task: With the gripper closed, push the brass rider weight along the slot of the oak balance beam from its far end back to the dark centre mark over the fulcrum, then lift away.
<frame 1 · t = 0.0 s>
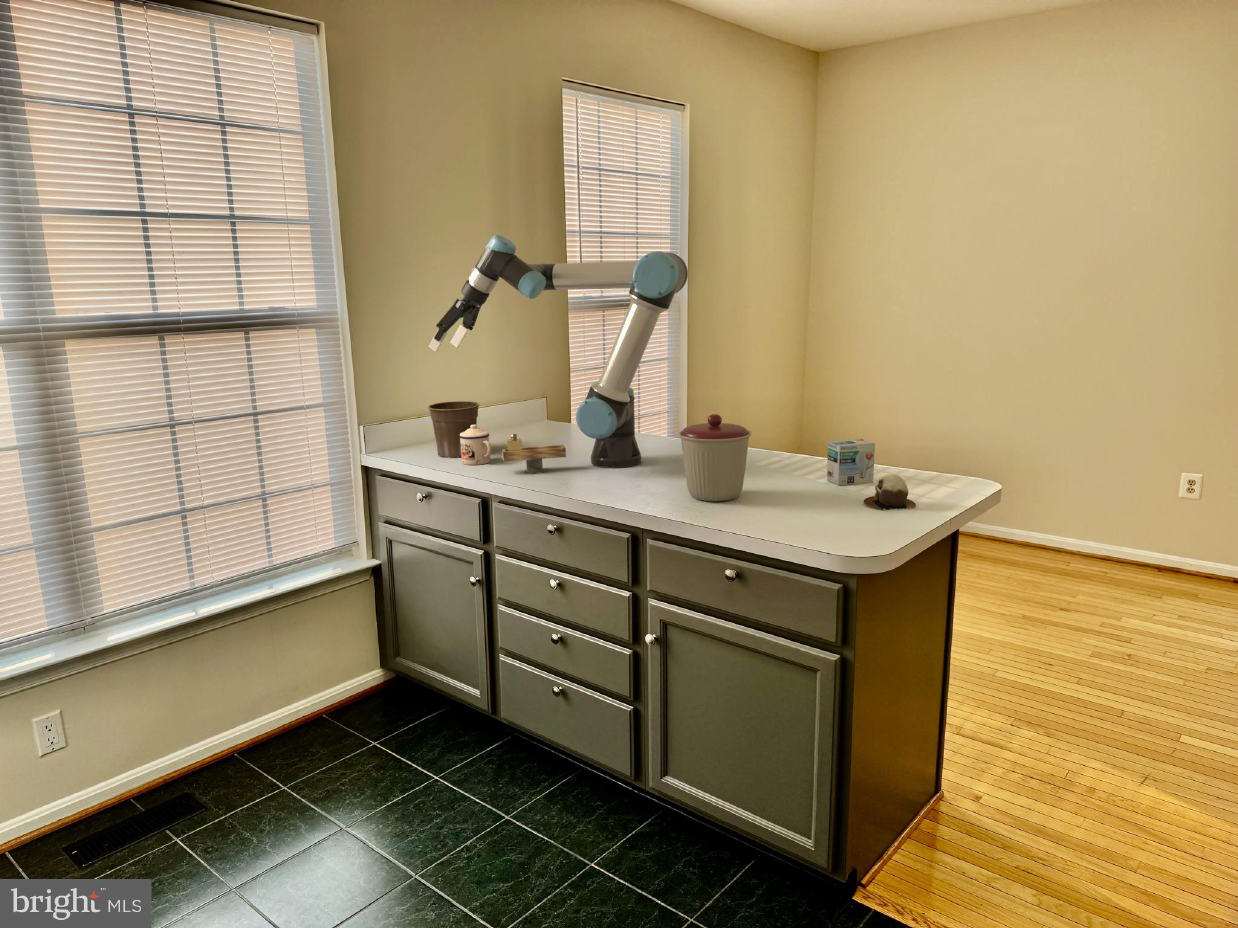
hand: (443, 347, 258), 36 cm above the table, tool tilted 35°, fingers open, 13 cm apart
light bulb box: (850, 482, 234), on the table
rider: (514, 444, 254), point 8 cm above the table, slide at 0.0 cm
plant pot: (457, 455, 284), on the table
beam: (534, 470, 257), on the table
canister: (714, 497, 222), on the table
teacup with lid: (479, 463, 270), on the table
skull: (889, 506, 211), on the table
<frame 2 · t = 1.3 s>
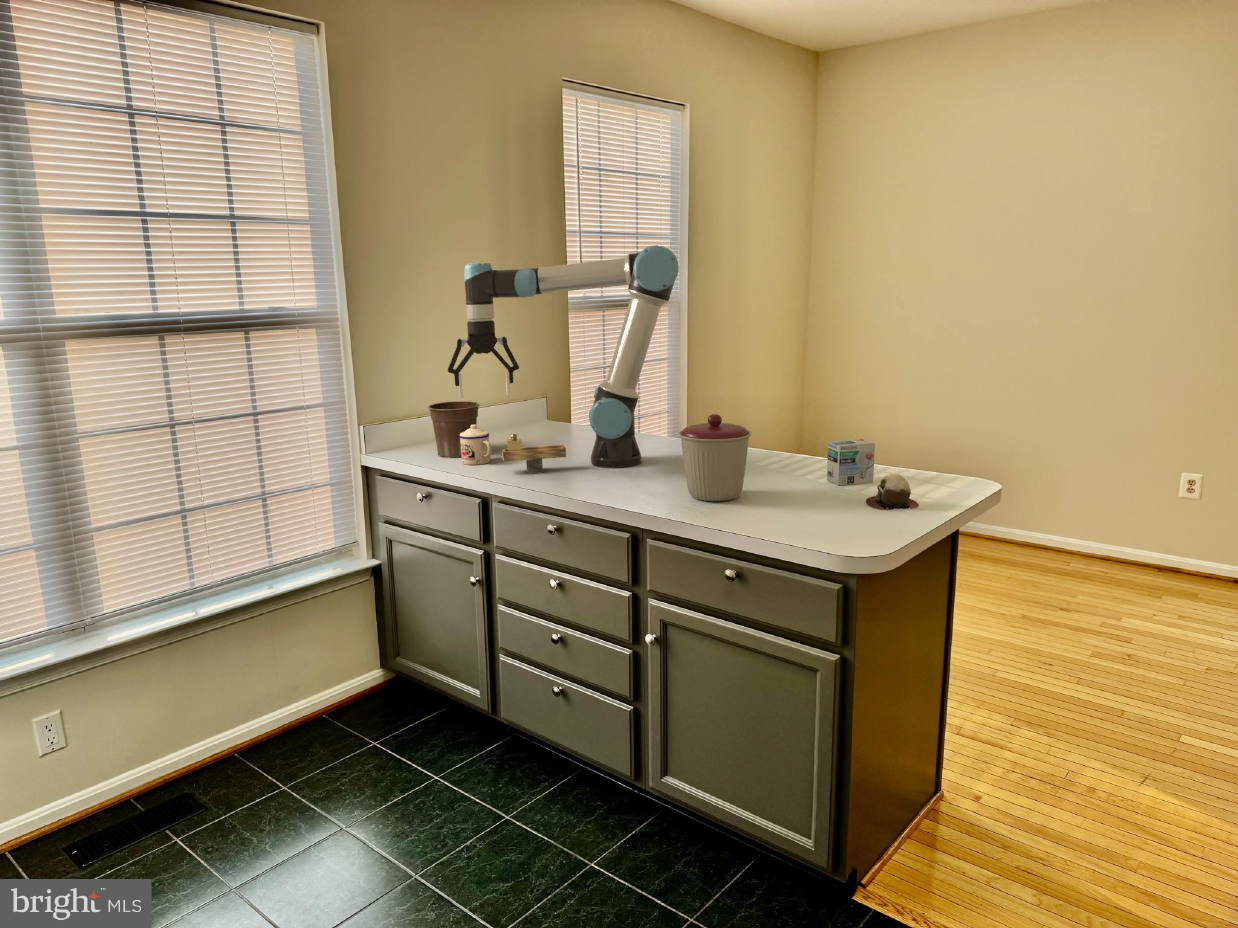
hand: (485, 396, 250), 23 cm above the table, tool pointing down, fingers open, 12 cm apart
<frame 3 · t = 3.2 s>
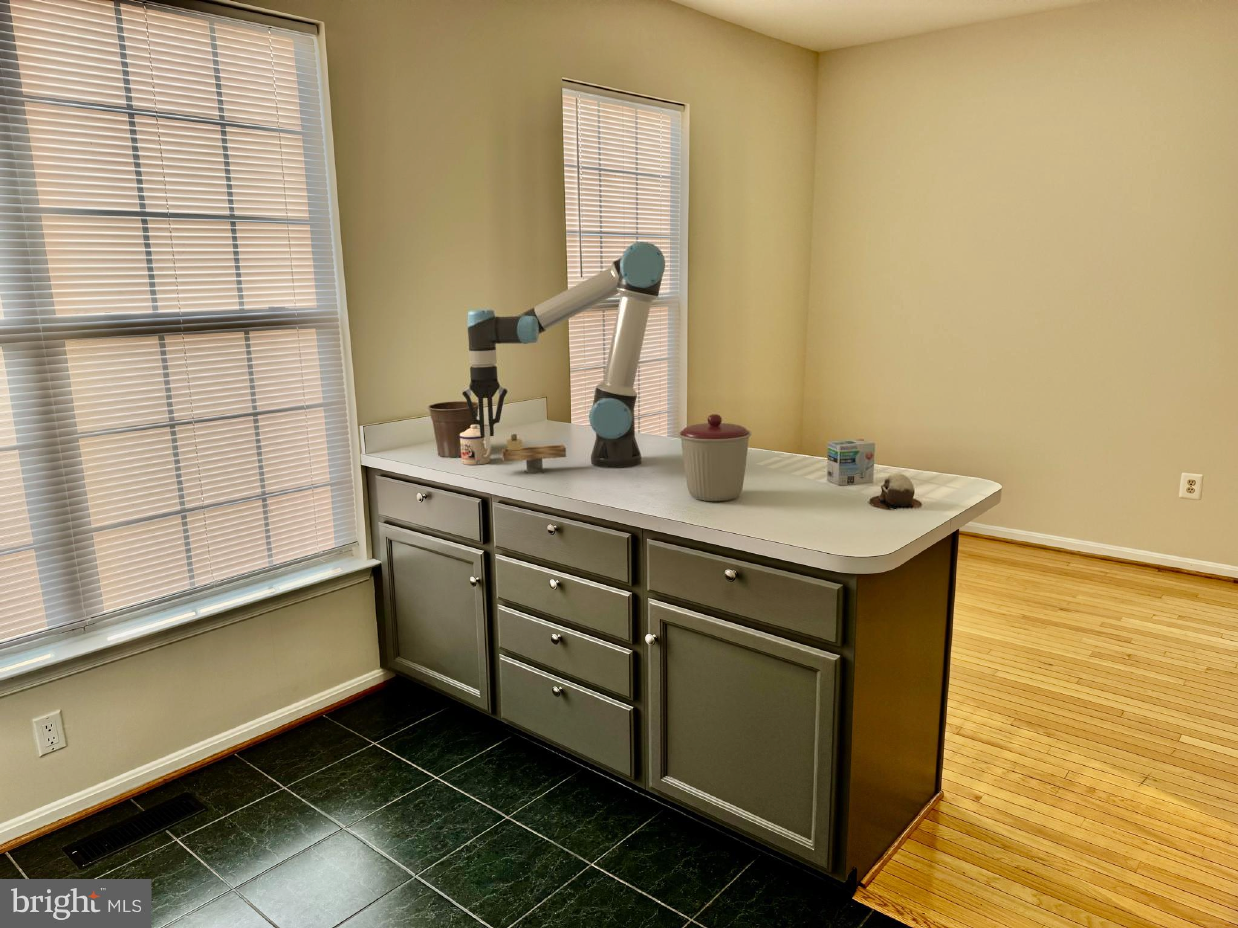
hand: (487, 447, 253), 8 cm above the table, tool pointing down, fingers closed
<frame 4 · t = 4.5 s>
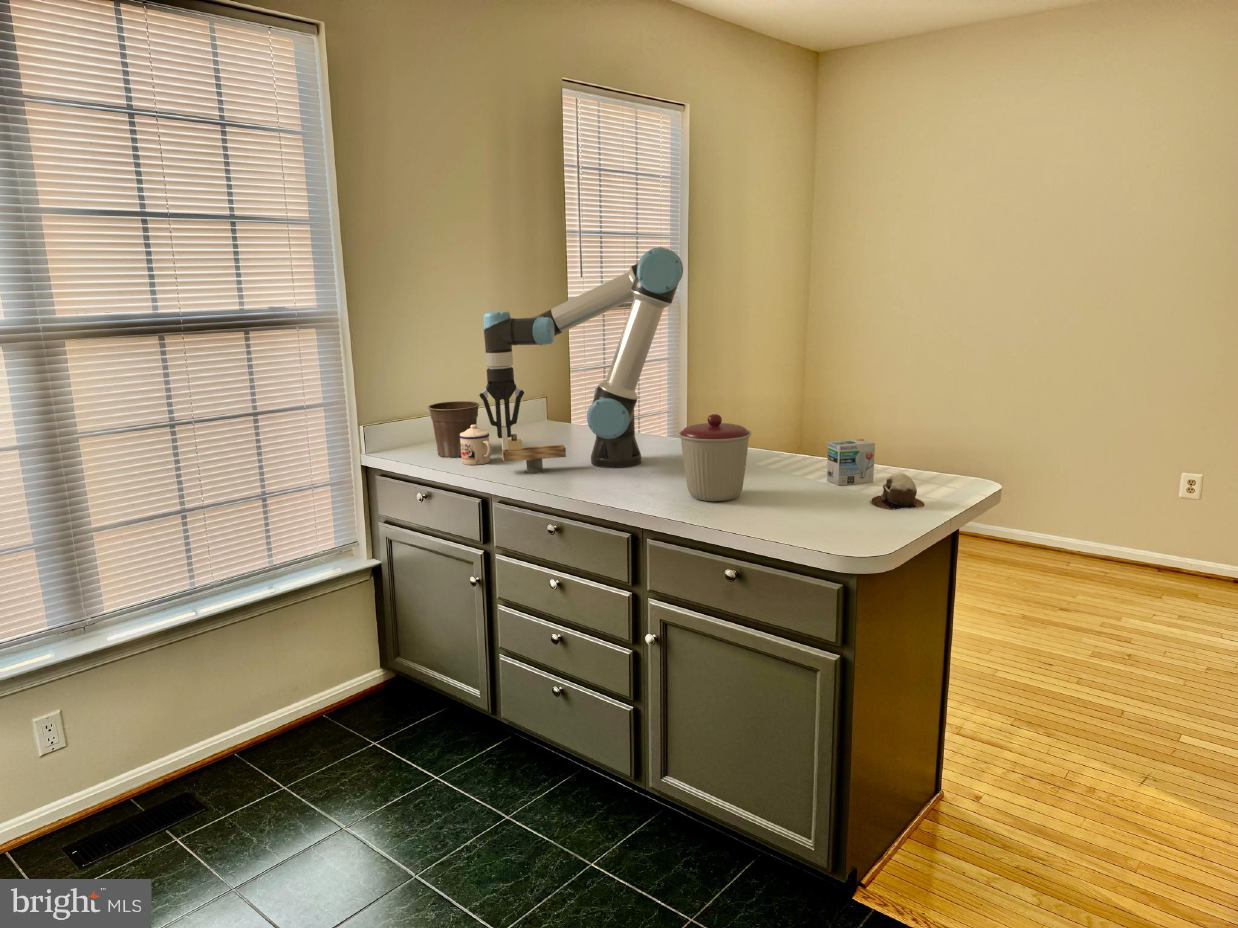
hand: (505, 448, 254), 7 cm above the table, tool pointing down, fingers closed
rider: (514, 443, 254), point 8 cm above the table, slide at 0.0 cm, touching gripper
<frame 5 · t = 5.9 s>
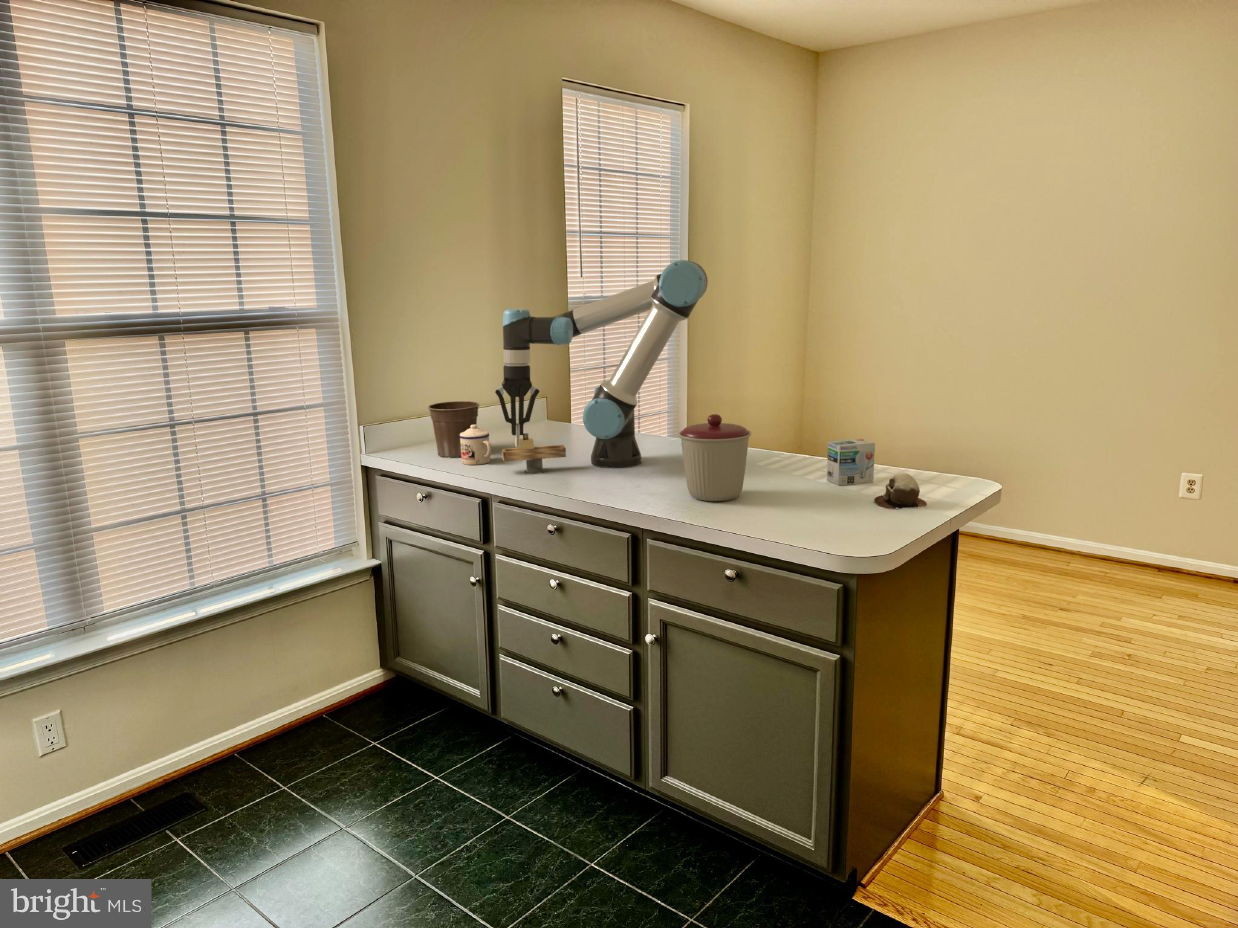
hand: (517, 446, 254), 8 cm above the table, tool pointing down, fingers closed
rider: (526, 443, 255), point 8 cm above the table, slide at 3.4 cm, touching beam, gripper
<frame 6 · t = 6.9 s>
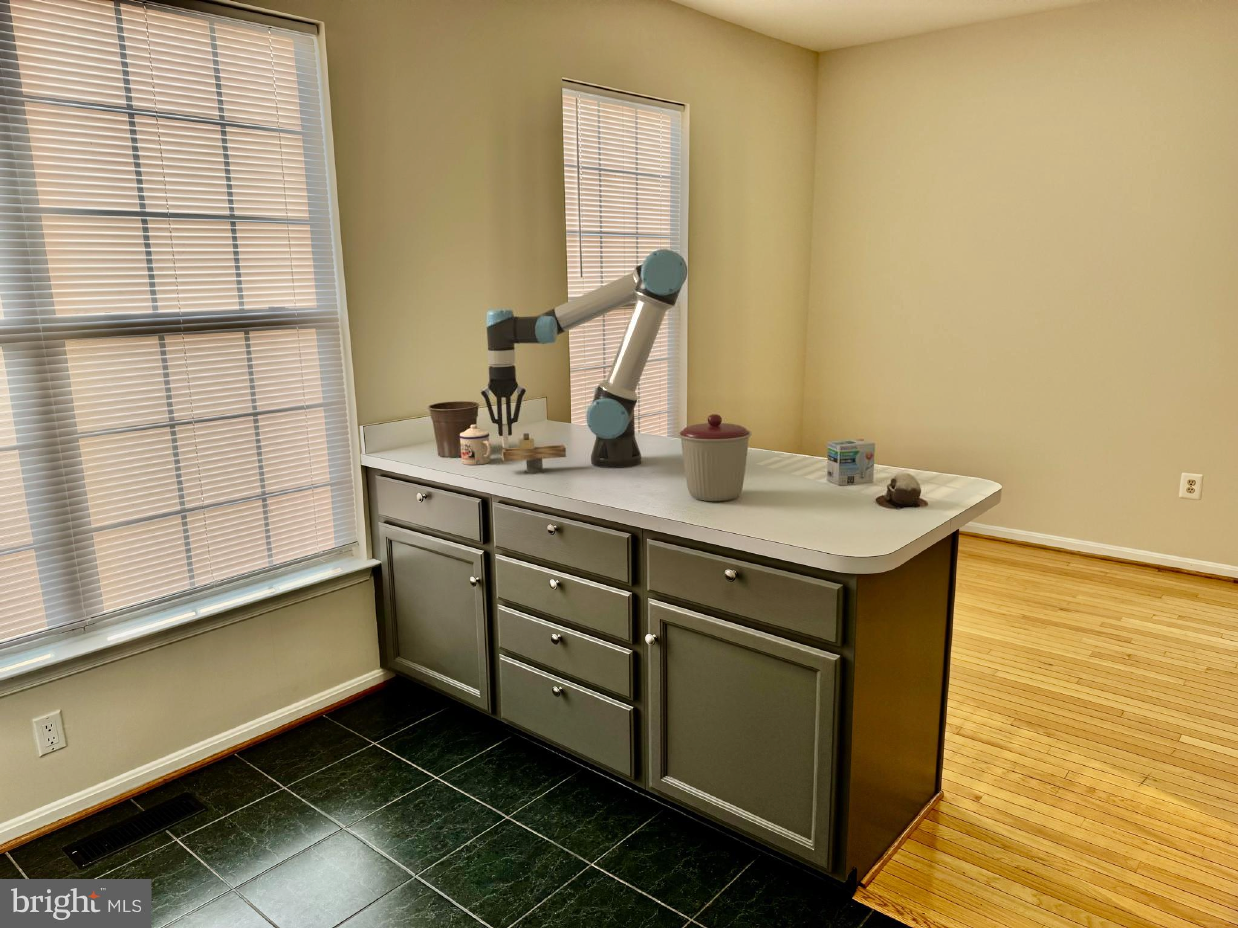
hand: (505, 446, 254), 8 cm above the table, tool pointing down, fingers closed
rider: (526, 443, 255), point 8 cm above the table, slide at 3.5 cm, touching beam
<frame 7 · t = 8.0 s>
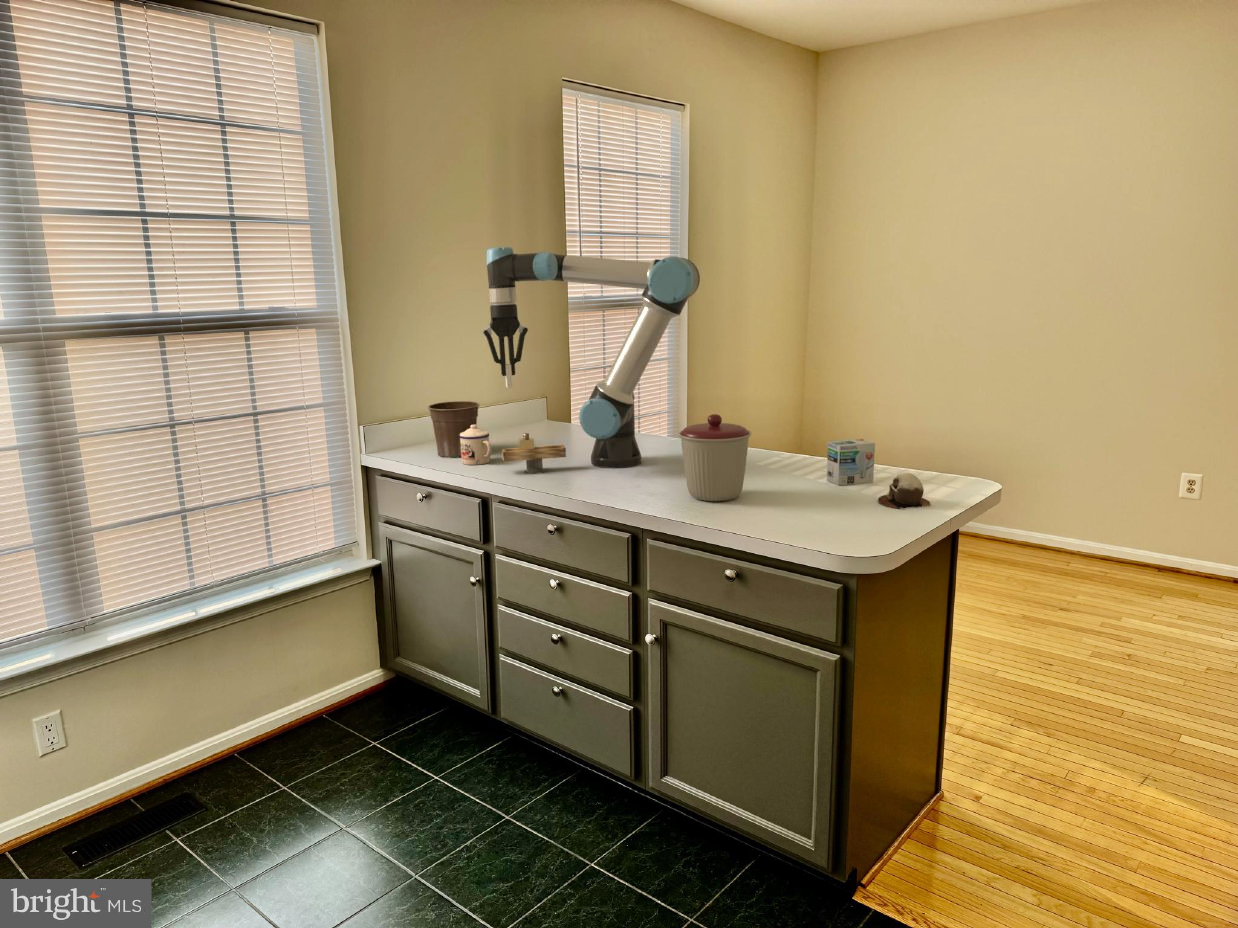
hand: (509, 387, 253), 25 cm above the table, tool pointing down, fingers closed
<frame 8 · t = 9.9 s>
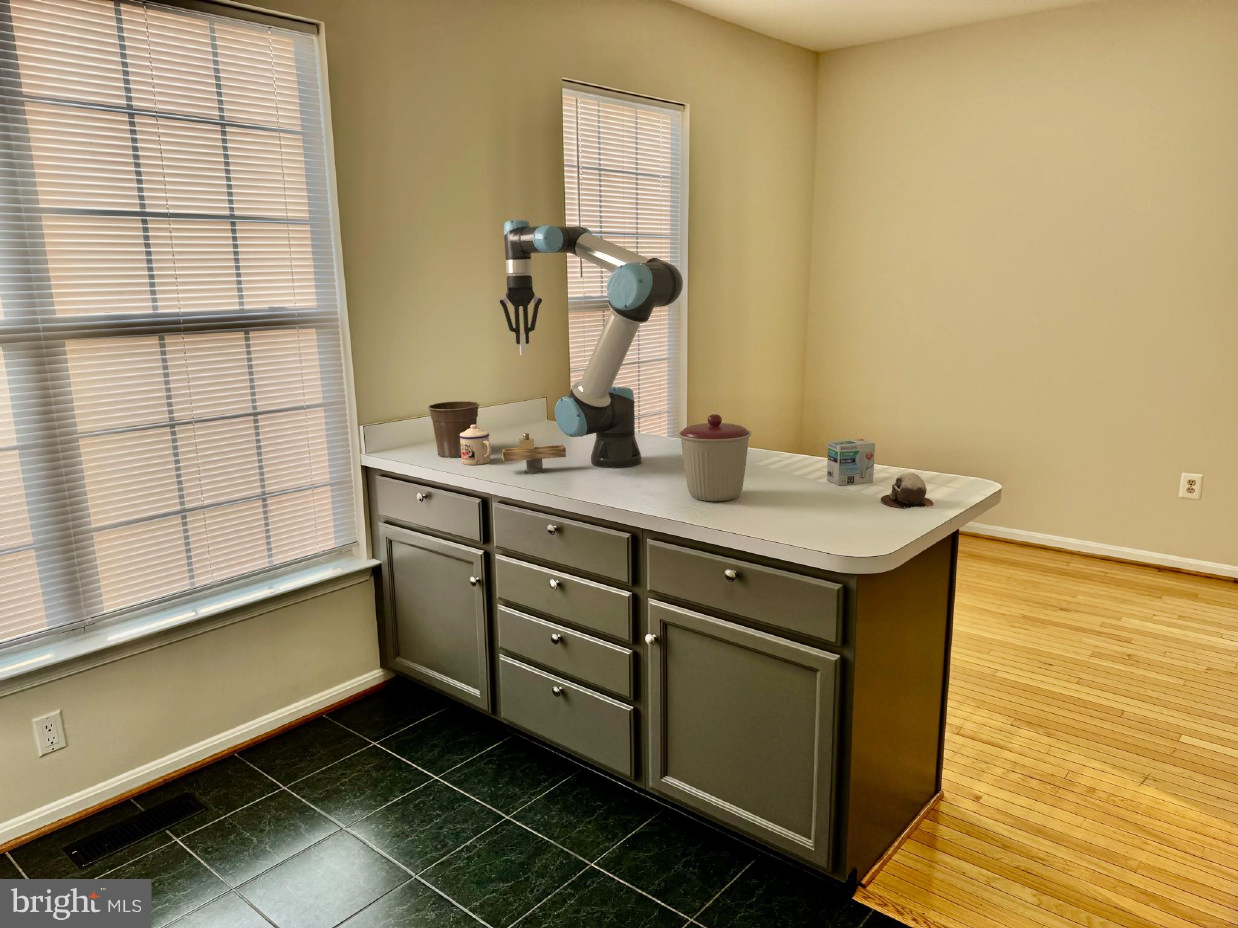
hand: (523, 355, 265), 32 cm above the table, tool pointing down, fingers closed
at the end: rider slide at 3.5 cm; rider 2.0 cm off-centre on the beam, point 8.4 cm above the beam's base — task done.
